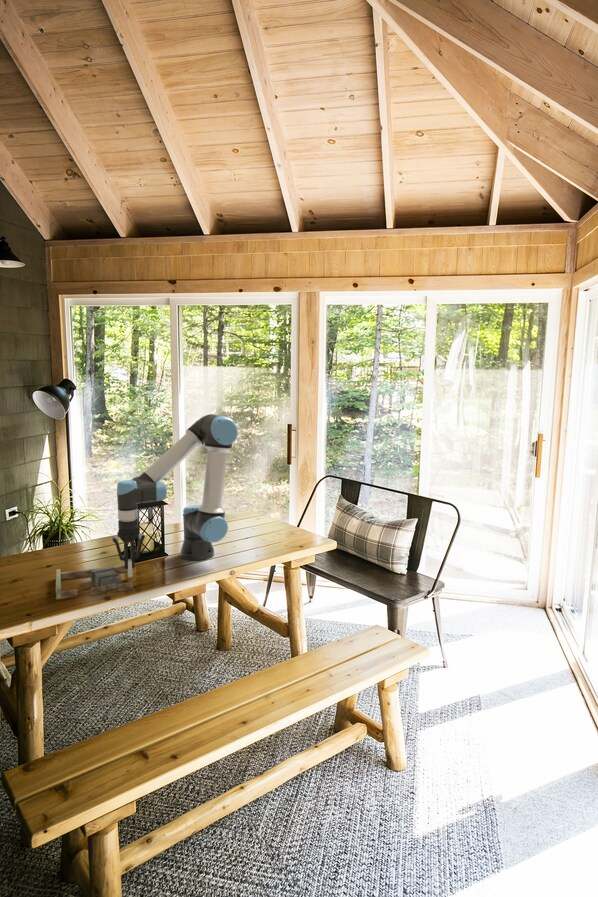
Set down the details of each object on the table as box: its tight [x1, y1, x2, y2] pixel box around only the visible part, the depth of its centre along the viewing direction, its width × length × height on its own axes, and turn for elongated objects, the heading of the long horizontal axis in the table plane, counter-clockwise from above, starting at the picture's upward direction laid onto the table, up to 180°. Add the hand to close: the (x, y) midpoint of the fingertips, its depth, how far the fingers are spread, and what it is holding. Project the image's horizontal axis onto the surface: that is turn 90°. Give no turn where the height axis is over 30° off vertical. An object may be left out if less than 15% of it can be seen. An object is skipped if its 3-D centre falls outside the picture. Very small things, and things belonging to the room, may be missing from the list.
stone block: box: [90, 566, 122, 592], centre depth 243 cm, size 9×14×5 cm, turn 34°
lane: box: [55, 564, 133, 600], centre depth 243 cm, size 28×23×4 cm
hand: (130, 575), depth 248 cm, fingers closed
